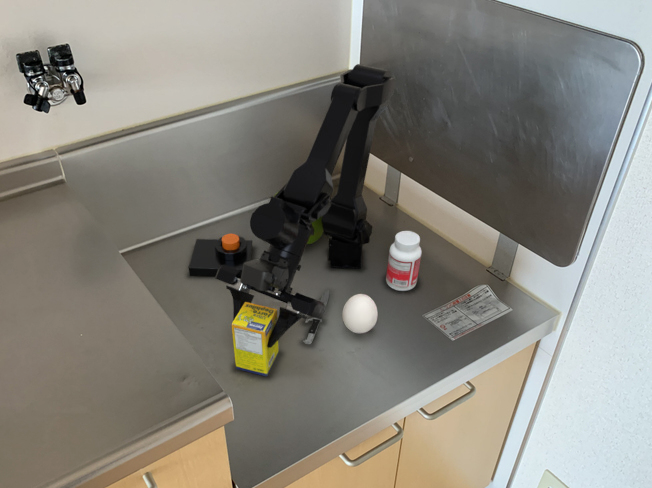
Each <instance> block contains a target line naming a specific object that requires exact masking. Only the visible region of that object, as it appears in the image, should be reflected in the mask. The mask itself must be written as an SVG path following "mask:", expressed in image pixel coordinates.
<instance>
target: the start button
mask: <svg viewBox="0 0 652 488" xmlns="http://www.w3.org/2000/svg"><path fill="white" fill-rule="evenodd" d="M238 236H239V235H238V234H235V233H227V234H224V235H223V236H221V237H222V247H223V248H224V249H225V250H235V249H238V248H239V246H240V243H239V237H238Z"/></svg>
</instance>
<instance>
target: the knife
mask: <svg viewBox="0 0 652 488" xmlns="http://www.w3.org/2000/svg"><path fill="white" fill-rule="evenodd" d="M329 298H330V289H327V290H325V292H324V293H323V294H322V295H321V298H320V300H319V301H320V302H323V303H324V305H325V308H326V307H327V304H328V301H329ZM310 321H311V322H312V323H311V325H310V327H309V329H308V332H307V337H306V338H305V339H304V340H303V343H304V344H306V345H311V344H312V343H313V341H314V339H315V336H316V334H317V330H318V329H319V326H320V324H321V323H322V322H323V318H322V319H317V318H314V317H309V318H306V319H305V321H304V323H305V324H308V323H309V322H310Z"/></svg>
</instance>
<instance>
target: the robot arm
mask: <svg viewBox="0 0 652 488" xmlns="http://www.w3.org/2000/svg"><path fill="white" fill-rule="evenodd" d="M392 75H393V74H392V72H391V70H390V69H384V68H380V67H374V66H369V65H365V64H361V63H357V64H355V65H354V66H353V68H352V69H348V70H347V71H345V72H343V73H341V74H340V75H339V82H338V83H336V84H335V85H334V86H333V88H332V91H331V94H330V102H329V106H328V108H327V110H326V113H325V115H324V117H323V120H322V121H321V125H320V127H319V129H318V132H317V134H316V136H315V139H314V141H313V143H312V146H311V149H310V151H309V153H308V156H306V157H307V158H306V160H305V161H304V162H303V163H302V164H300V165H299V166H297V167H296V168H295V169H294V170H293V171H292V173H291V175H290V177H289V179H288V181H287V182H286V183H285V184H284V185H283V186H282V187H281V188H280V190H278V191H279V192H278V191H277V192H278V193H277V192H276V193H277V194H276V193H275V194H276V195H275V194H274V195H272V196H271V197H270V199H269V201H268V202H266V203H263V204H261V205H259V206H258V207H257V208H256V209H255V210H254V211H253V212H252V213H251V215H250V219H249V226H250V227H249V228H250V230H251V232H252V234H253V235H254V237H256V238H258V239H259V240H261V241H263V242H265V243H267V244H269V246H268V248H267V250H263V252H262V253H261V255H260V257H259V258H258V259H251V261H249V262H245V263H244V265H243V269H242V271H240V270H237V269H234V268H232V267H229V266H227V265H223V266H221V267H220V268H219V269H218V271H217V274H216V276H215V277H214V279H216V280H218V281H220V282H223V283H225V284H227V285H225V288H226V290H228V291H229V292H230V295H231V297H232V304H233V314H232V315H233V316H232V322H233V321H234V319H235V317H236V316H237V314H238V313H239V311H240V309H241V308H242V306H243V304H244V303H245V302H249V303H252V302H253V300H254V299H255V298H254V297H255V295H254V294H251V293H250V291H251V290H252V291H253V292H257V293H259V294H261V295H264V296H267V297H269V298H271V299H274V300H277V301H279V302H282V303H284V304H286V307H285V308H284V307H281V306H280V307H279V310H278V311H279V312H278V316H277V322H276V324H275V326H274V329H273V331H272V333H271V335H270V338H269V341H268V344H267V347H269V348H271V347H272V346H273V345H274V344H275V343H276V342H277V341H278V342H279V340H280V339H281V338H282V337H283V335H284V334H285V333H287V332H288V330H289V329H291V328H292V327H293V326H294V325H295V324H297V323H298V322H300V320H301V319H304V320H307V319H308V316H309V317H310V318H313V317H314V318H317V319H322V320H323V316H324V315H325V311H326V307H325V305H324V303H323V302H320V300H317V299H315V298H313V297H310V296H307V295H305V294H302V293H301V292H300V293H299V292H295V294H292V291H293V287H291V286H292V283H293V281H294V278H295V276H296V273H297V272H300V271H301V268H302V265H301V264H300V263H301V260H302V257H303V255H304V252H305V250H306V247H307V245H308V244H307V242H308V240H309V237H310V235H314V228H313V226H312V222H314V221H315V220H317V219H318V218H320V217H322V227H323V235H324V236H328V237H329V238H328V245H327V246H328V247H327V248H328V249H327V261H329V265H330V266H329V267H330V268H331V269H348V270H349V269H351V270H362V267H363V263H362V255H363V245H368V244H369V243H370V241H371V236H372V234H373V225H372V224H371V223H370V222H368V220H367V215H368V208H367V205H366V202H365V200H364V197H363V190H364V186H365V182H366V181H365V180H366V175H367V170H368V164H369V161H370V160H369V159H370V155H371V150H372V144H373V139H374V134H375V130H376V125H377V120H378V119H379V117H380V116H381V115H382V114H383V113H384V112H385V110H386V109H387V108H388V107H389V104H390V101H391V98H392V97H393V95H394V93H395V89H396V79H395V78H394V77H393V76H392ZM343 149H344V152H343V156H342V163H341V168H340V175H339V180H338V185H337V186H338V187H337V191H336V193H335V195H333V192H334V184H333V178H332V177H333V174H334V170H335V168H336V165H337V163H338V161H339V158H340V156H341V153H342V151H343ZM332 195H333V197H332ZM275 290H277V292H275ZM278 292H280V293H278Z"/></svg>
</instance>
